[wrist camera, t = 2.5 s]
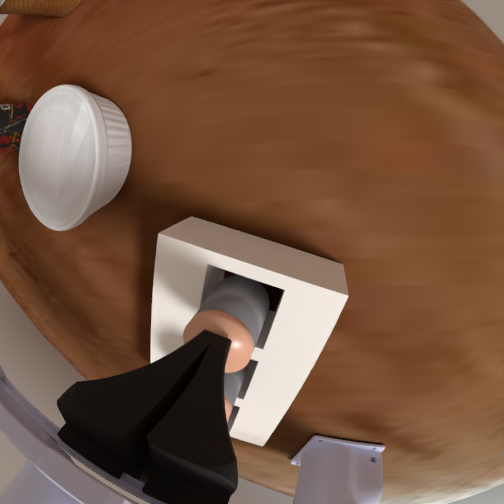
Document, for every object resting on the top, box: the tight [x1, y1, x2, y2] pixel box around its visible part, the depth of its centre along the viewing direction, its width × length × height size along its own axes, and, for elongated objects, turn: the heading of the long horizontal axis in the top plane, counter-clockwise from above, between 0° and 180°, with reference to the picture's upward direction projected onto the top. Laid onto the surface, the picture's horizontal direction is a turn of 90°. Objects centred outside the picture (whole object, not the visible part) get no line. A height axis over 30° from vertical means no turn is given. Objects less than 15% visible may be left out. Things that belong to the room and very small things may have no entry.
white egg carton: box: [151, 216, 348, 446], centre depth 19 cm, size 11×17×5 cm, turn 166°
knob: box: [183, 275, 270, 373], centre depth 14 cm, size 3×3×5 cm
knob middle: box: [224, 364, 248, 420], centre depth 16 cm, size 3×3×5 cm
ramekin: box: [19, 85, 132, 231], centre depth 17 cm, size 11×11×5 cm
